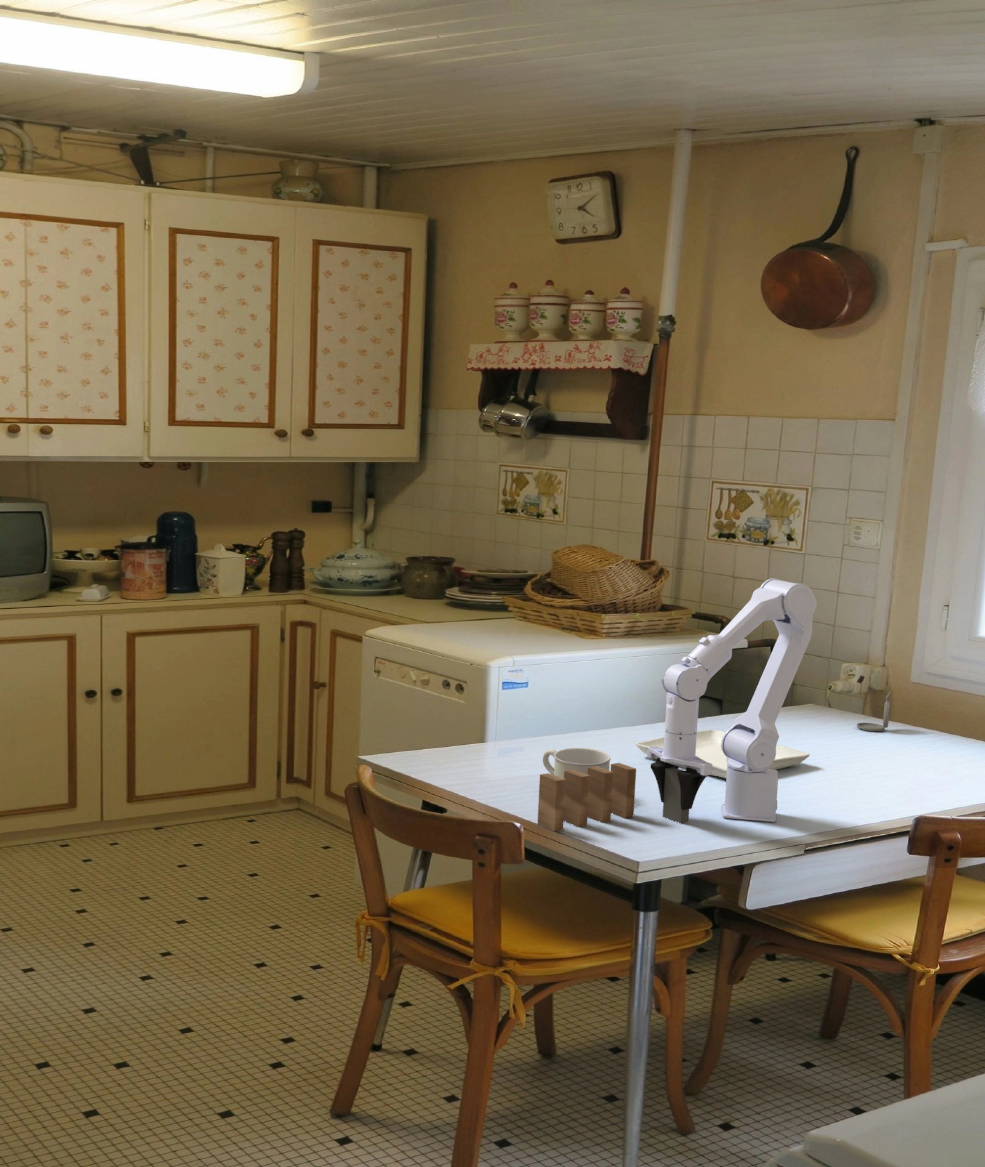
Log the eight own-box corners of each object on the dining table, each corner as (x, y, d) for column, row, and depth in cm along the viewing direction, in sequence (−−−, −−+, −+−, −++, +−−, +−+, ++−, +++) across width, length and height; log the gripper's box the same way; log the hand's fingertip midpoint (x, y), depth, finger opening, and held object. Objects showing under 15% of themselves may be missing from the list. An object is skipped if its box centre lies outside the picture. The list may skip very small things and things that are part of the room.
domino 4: (616, 810, 233) (619, 762, 232) (633, 817, 230) (636, 768, 229) (608, 812, 232) (611, 764, 231) (625, 818, 229) (628, 769, 228)
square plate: (632, 758, 276) (633, 741, 275) (712, 743, 293) (713, 727, 293) (731, 787, 255) (732, 768, 255) (811, 769, 273) (812, 751, 273)
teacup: (619, 797, 243) (622, 756, 242) (582, 806, 235) (584, 764, 235) (566, 781, 253) (568, 742, 252) (528, 789, 245) (530, 749, 244)
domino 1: (546, 823, 224) (548, 773, 223) (562, 830, 220) (565, 779, 219) (537, 824, 222) (539, 774, 221) (553, 831, 219) (556, 780, 218)
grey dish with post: (851, 726, 318) (854, 687, 317) (881, 726, 320) (884, 687, 319) (868, 734, 310) (871, 693, 309) (899, 733, 312) (902, 693, 311)
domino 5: (670, 815, 232) (673, 767, 231) (688, 822, 228) (691, 773, 227) (662, 816, 231) (665, 768, 230) (680, 823, 227) (683, 774, 226)
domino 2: (570, 818, 227) (573, 769, 226) (587, 825, 223) (589, 775, 222) (561, 820, 226) (564, 771, 225) (578, 827, 222) (581, 777, 221)
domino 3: (593, 814, 230) (596, 766, 229) (610, 821, 226) (613, 772, 226) (585, 816, 229) (587, 767, 228) (602, 822, 225) (604, 773, 224)
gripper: (636, 725, 231) (632, 798, 233) (694, 742, 220) (689, 818, 221) (664, 721, 235) (660, 793, 237) (722, 738, 224) (717, 813, 225)
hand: (676, 805), depth 229 cm, fingers closed on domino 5, 5 cm apart
